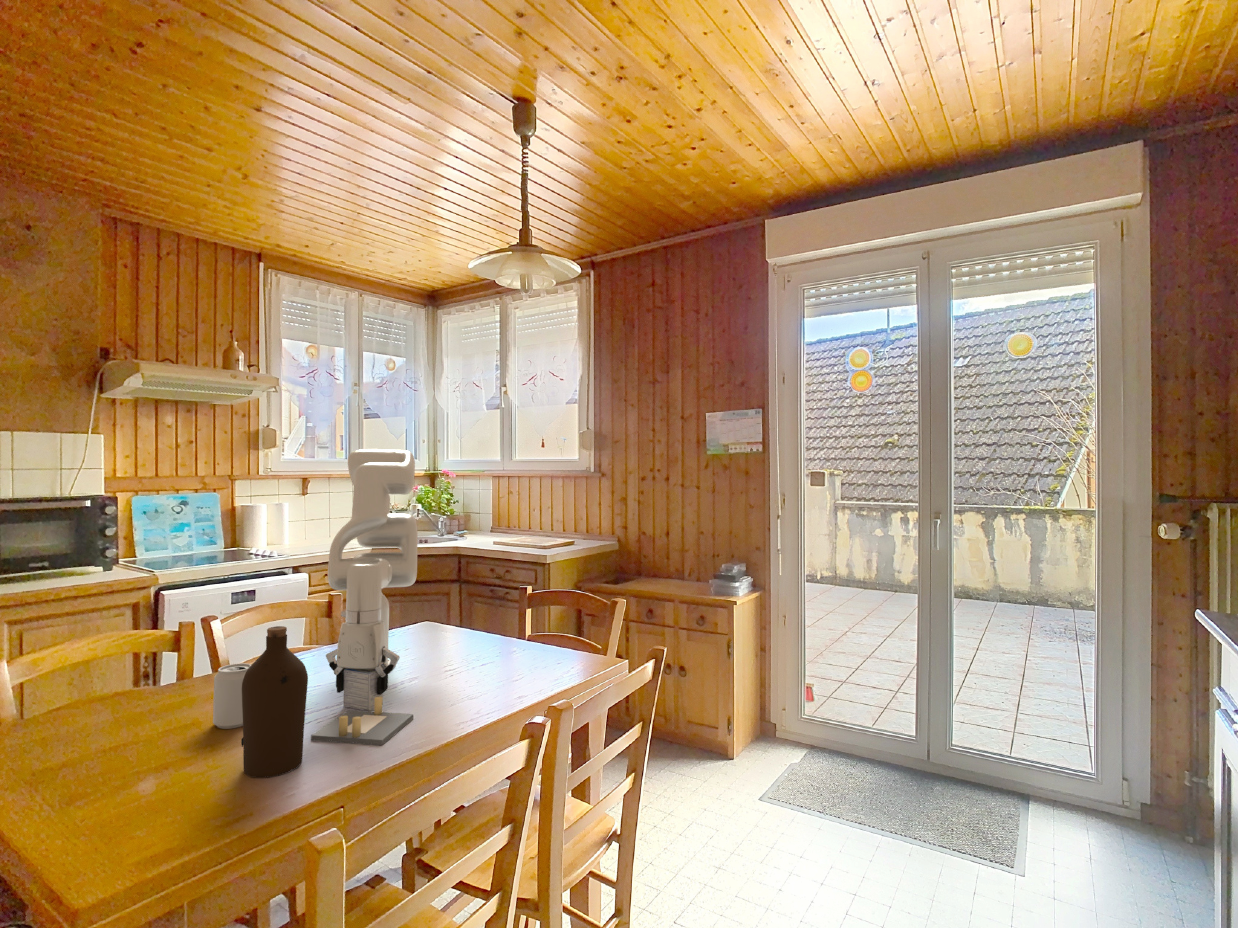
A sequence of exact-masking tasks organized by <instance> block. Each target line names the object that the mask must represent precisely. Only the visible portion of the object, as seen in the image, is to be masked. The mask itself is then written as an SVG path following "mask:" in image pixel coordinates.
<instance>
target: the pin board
mask: <svg viewBox="0 0 1238 928" xmlns="http://www.w3.org/2000/svg"><path fill="white" fill-rule="evenodd" d="M412 720H414V713H401V712H389V711H388V712H385V711H383V705H382V697H375V704H374V710H371V711H366V710H358V709H356V710H353V709H348V710H347V711H345V712H343V713H342V714H340V715H339V716H337V717H336V718H335V719H333V720H331V721H330V722H328V723H327V724H325V725H324V726H323V727H321V728H319V729H318V730H317V731H315V732H313V733H312V734H311V735H310V741H316V742H317V741H318V742H331V743H333V742H334V743H346V744H348V743H349V744H358V743H361V745H375V746H376V745H377V746H383V745H384V744H385V743H387V742H388V741H389V740H390V739H392V737H394V736H395V735H396V734H397V733H399V731H401V730H402V729H403V728H404V727H405V726H406V725H407V724H409V723H410V722H411V721H412Z"/></svg>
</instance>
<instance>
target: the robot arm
mask: <svg viewBox="0 0 1238 928" xmlns="http://www.w3.org/2000/svg"><path fill="white" fill-rule="evenodd" d="M347 467H348V473H349V477H350V480H351V483H352V485H353V492H352V493H353V496H352V507H351V509H352V510H351V518H350V520H349V521H348V522H346V523H345V524H344V525H343V526H342V527H341V528H340V530H339V531H338V532H337V533H336V535H335V537H334V538H333V540H332V542H331V545H330V548H329V552H328V553H329V555H328V564H327V565H328V567H327V582H328V585H329V587H330V588H331V589H333V590H336V591H346V602H345V607H346V608H345V609H344V610H342V611H341V612H340V616H341V617H342V618H344V620H345V622H342V623H341V626H340V630H339V635H338V642H337V648H336V649H333V650H332V651H329V652H328V653H326V654H325V658H326V659H327V662H328V666H329V668H330V669H331V670H332V671H333V674H334V675H335V687H336V693H338V694H340V693H342V692H344V670H345V669H347V668H348V669H376V671H377V672H378V674H379V675H380V676H379V677H378V678H377V694H378V695H381V694H382V693H383V694H384V693H385V692H387V689H388V686H389V685H388V684H389V674H390V673H391V672H392V671H393V670H394V669H395V668H396V666H397V664H398V662H399V660H400V654H399V655H398V654H397V653H395V652H394V651H392V650H390V649H389V635H390V634H389V629H390V628H389V627H390V625H389V623H390V602H389V600H388V598H387V597H386V596H385V594H384V593H383V592H382V590H383V589H385V588H406V587H410V586H412V585H413V584H415V582H416V580H417V577H418V576H417V575H418V524H417V520H416V518H415V517H414V516H413V515H412V514H410V513H393V512H391V496H392V495H397V496H399V495H401V496H402V495H408V494H410V493H411V492H412V491H413V489H414V483H415V474H416V473H415V471H416V461H415V457H414V455H413V453H412V452H411V451H409V450H405V449H380V448H379V449H378V448H367V449H365V448H362V449H356V450H353V451H352V452H350V453H349V455H348V457H347ZM355 538H356V540H357V543H358V545H359V546H361V547H363V548H368V549H369V548H370V549H371V548H373V549H382V548H383V549H384V548H385V549H388V548H390V549H391V548H393V549H394V548H397V549H399V550H400V551H399V552H397V551H396V552H385V551H384V552H363V553H360V554H357V555H354V557H352V558H348V557H346V558H342V555H343V552H344V550H345V547H346V546H347V545H348V544H349V543H350V542H351V541H353V540H354V539H355Z"/></svg>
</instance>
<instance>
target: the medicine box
mask: <svg viewBox="0 0 1238 928" xmlns="http://www.w3.org/2000/svg"><path fill="white" fill-rule="evenodd" d="M379 676H380V675H379V674H378V672H377V671H376V669H348V668H347V669H345V670H344V691H343V707H346V708H352V709H356V710H360V711H374V704H375V697H382V706H384V693H382V694H381V695H378V694H377V678H378V677H379Z"/></svg>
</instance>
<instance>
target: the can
mask: <svg viewBox="0 0 1238 928" xmlns="http://www.w3.org/2000/svg"><path fill="white" fill-rule="evenodd" d="M251 665H252V664H250V663H245V662H244V663H243V662H239V663H231V664H227V665H223V666H221V667H219V668H218V669H217V671H218V672H217V673H216V674H215V675H214V677H213V703H212V704H213V707H212V708H213V709H212V710H213V711H212V717H213V718H212V723H213V724H214V725H215V726H216V727H217V728H218V729H222V730H223V729H224V730H227V729H237V728H241V727H243V712H242V682H243V679H244V676H245V673H246V671H247V670H248V668H249V667H250V666H251Z"/></svg>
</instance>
